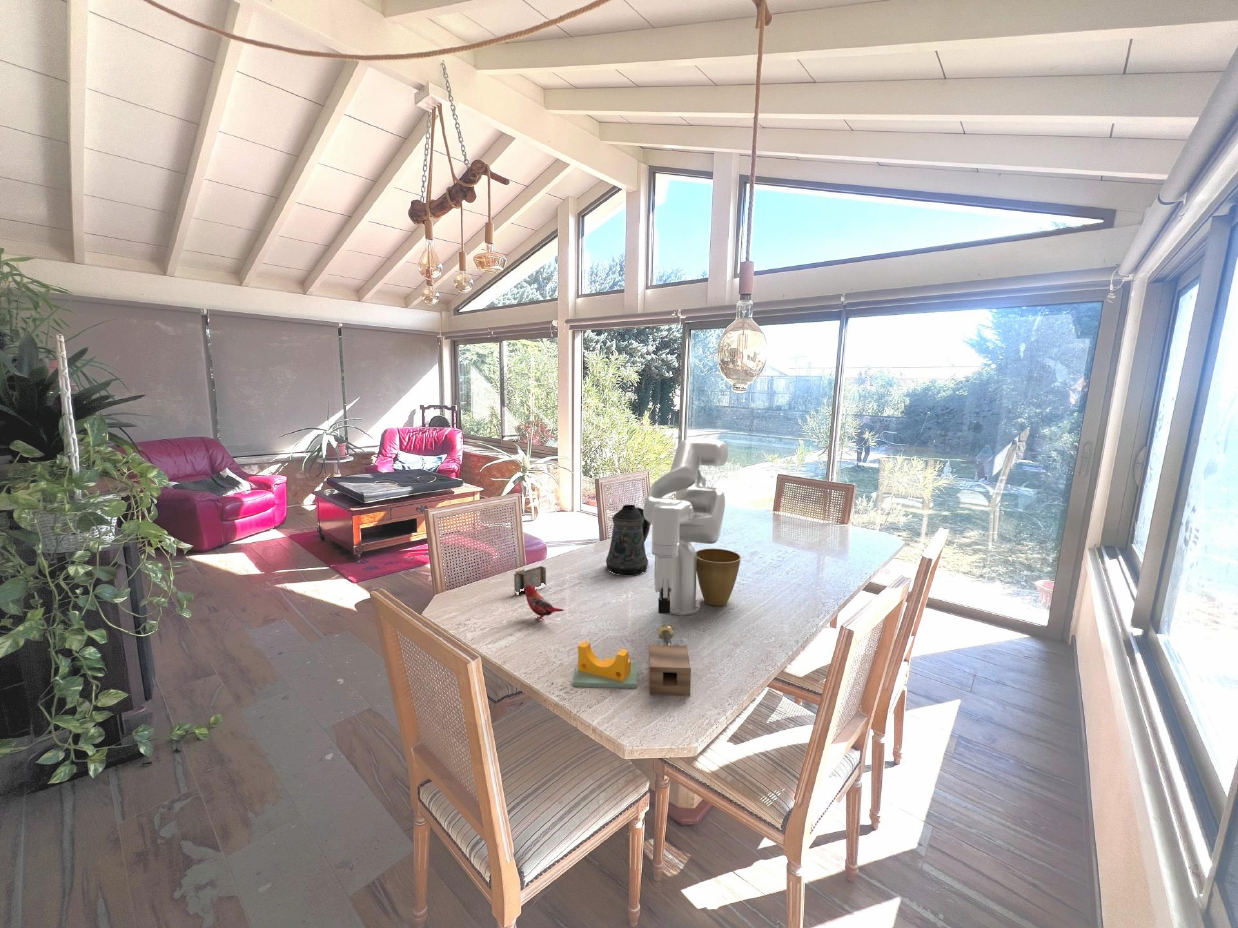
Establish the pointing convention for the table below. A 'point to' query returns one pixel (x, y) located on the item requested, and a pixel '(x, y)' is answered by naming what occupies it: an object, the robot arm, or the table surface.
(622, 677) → the pipe clamp
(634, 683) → the plate
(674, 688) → the shaft housing
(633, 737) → the table surface
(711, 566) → the plant pot
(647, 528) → the beer stein
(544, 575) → the grey upright flat frame
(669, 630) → the shaft
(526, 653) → the table surface
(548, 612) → the decorative bird figurine
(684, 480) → the robot arm
